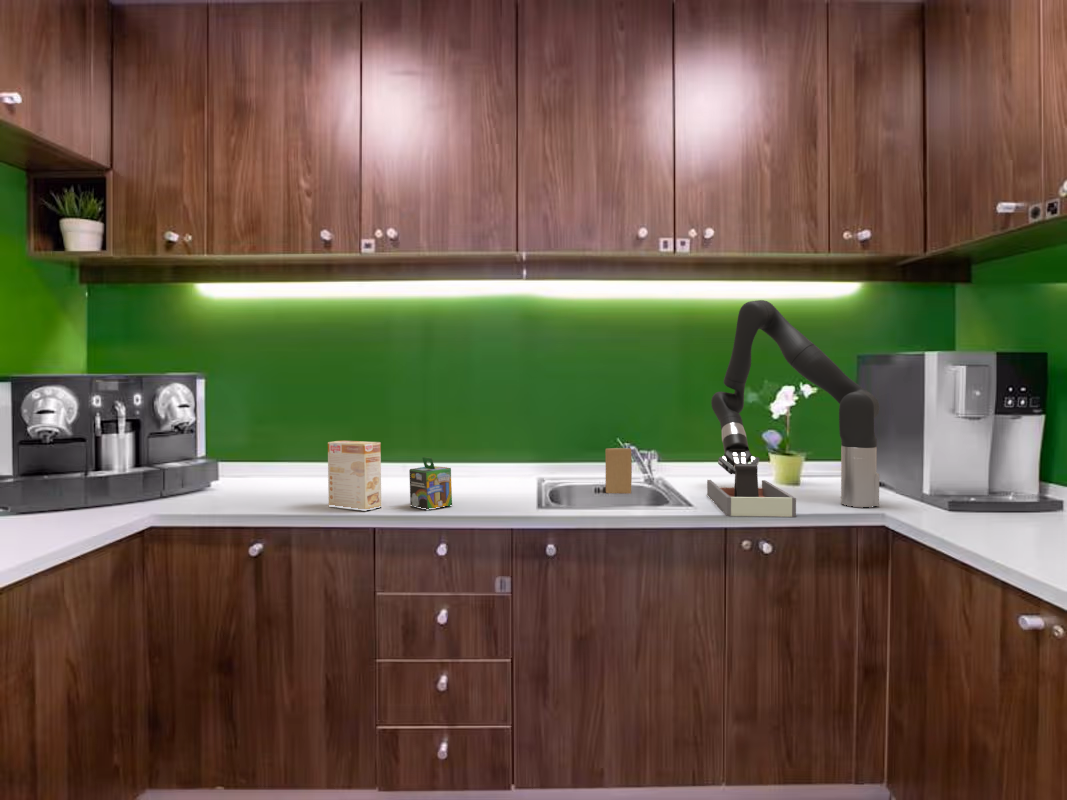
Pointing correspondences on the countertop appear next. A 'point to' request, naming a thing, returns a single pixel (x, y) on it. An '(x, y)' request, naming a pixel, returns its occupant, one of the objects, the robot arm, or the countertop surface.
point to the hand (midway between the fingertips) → (743, 483)
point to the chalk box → (430, 486)
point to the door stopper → (746, 480)
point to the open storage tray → (753, 501)
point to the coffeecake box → (354, 474)
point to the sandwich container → (618, 470)
